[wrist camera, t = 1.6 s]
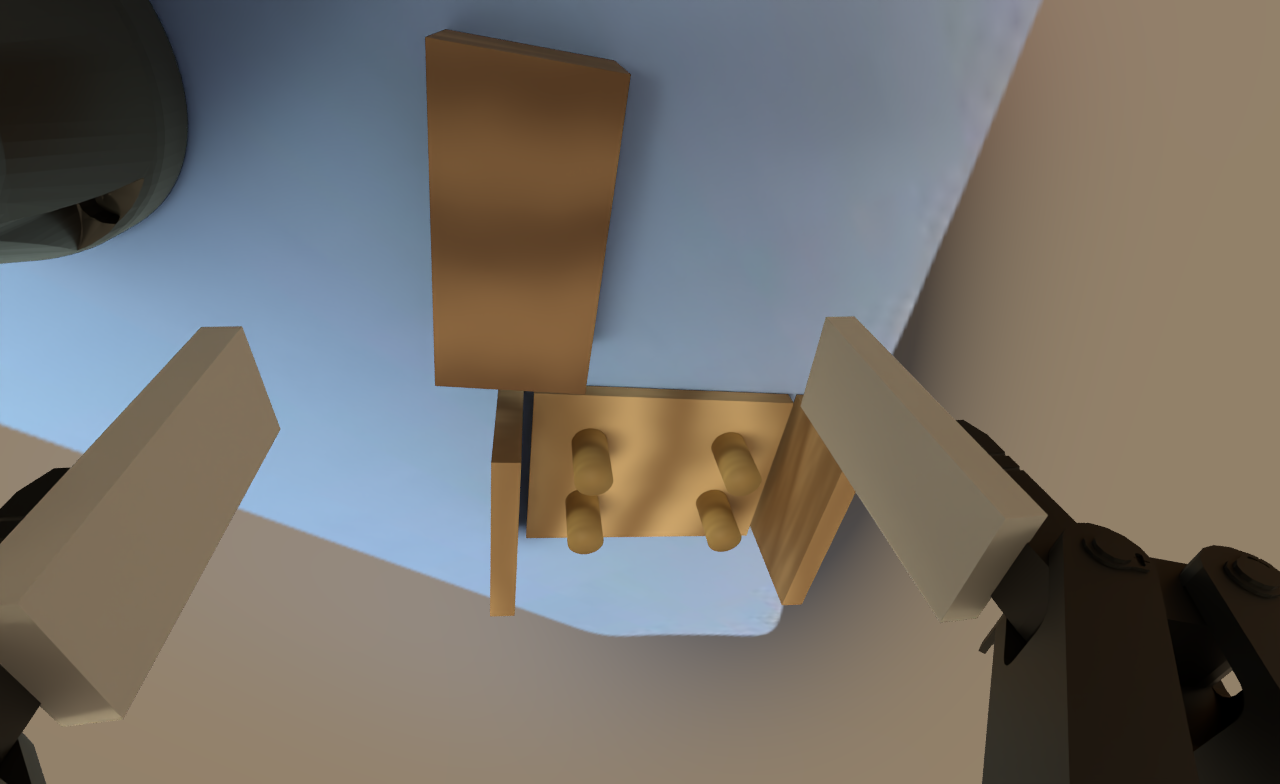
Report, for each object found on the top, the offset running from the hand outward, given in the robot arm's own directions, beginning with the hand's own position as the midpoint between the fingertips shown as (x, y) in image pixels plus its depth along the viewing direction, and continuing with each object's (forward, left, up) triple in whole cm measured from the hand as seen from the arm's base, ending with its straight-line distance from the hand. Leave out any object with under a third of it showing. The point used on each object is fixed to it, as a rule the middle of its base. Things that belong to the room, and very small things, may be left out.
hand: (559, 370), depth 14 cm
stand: (+8, -17, -17) cm, 26 cm away
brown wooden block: (-1, -1, -17) cm, 17 cm away
